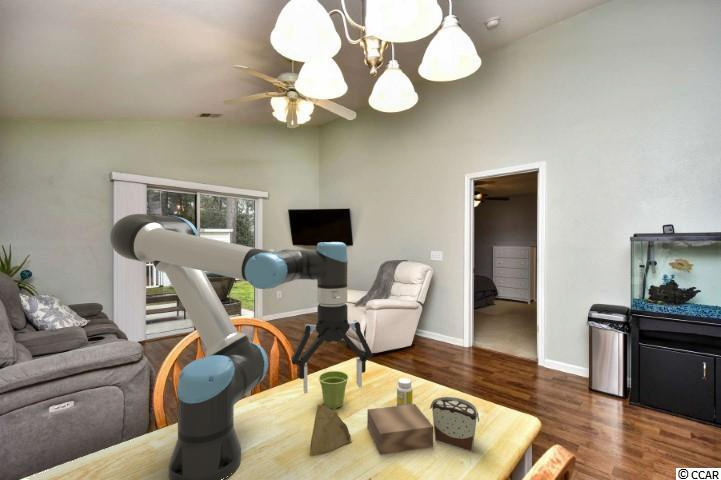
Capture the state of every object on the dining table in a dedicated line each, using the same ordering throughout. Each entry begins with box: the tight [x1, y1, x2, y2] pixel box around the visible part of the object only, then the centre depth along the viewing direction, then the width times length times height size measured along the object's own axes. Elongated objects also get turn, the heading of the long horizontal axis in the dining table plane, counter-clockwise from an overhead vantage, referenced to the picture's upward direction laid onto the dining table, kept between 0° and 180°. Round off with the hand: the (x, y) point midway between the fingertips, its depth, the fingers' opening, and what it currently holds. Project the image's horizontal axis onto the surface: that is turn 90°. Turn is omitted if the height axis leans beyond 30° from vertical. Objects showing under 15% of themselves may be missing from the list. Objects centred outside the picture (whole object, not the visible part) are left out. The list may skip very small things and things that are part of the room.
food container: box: [429, 396, 480, 454], centre depth 90 cm, size 12×6×10 cm, turn 59°
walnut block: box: [366, 403, 434, 455], centre depth 91 cm, size 14×12×5 cm
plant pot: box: [318, 370, 350, 409], centre depth 108 cm, size 9×9×9 cm
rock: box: [309, 404, 352, 457], centre depth 87 cm, size 11×9×10 cm
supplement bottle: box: [396, 377, 413, 406], centre depth 106 cm, size 5×5×8 cm
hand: (332, 388), depth 87 cm, fingers open, 13 cm apart
